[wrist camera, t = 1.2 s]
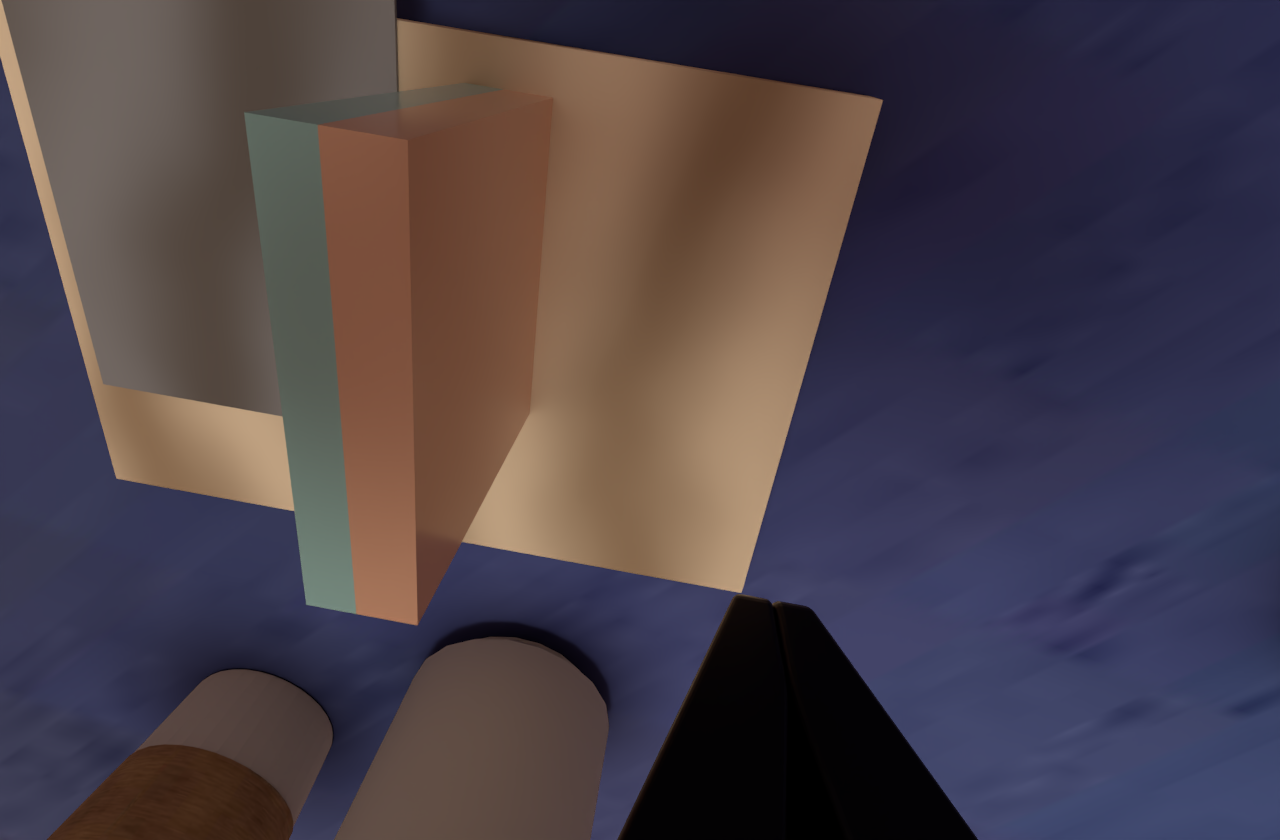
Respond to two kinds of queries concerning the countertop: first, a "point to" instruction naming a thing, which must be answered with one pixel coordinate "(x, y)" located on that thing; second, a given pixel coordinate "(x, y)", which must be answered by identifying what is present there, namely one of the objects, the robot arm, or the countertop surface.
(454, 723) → the can
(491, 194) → the tile
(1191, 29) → the countertop surface
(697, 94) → the board
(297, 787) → the coffee cup
